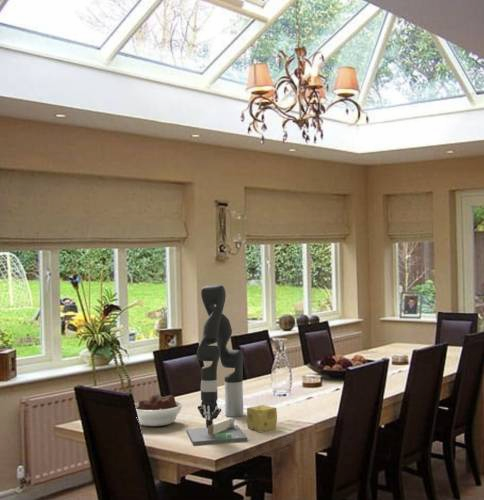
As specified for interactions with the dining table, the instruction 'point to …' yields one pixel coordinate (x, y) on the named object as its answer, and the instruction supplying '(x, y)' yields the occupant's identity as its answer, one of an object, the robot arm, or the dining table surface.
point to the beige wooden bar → (221, 425)
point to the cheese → (261, 418)
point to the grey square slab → (216, 435)
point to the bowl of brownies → (158, 410)
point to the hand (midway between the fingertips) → (209, 428)
